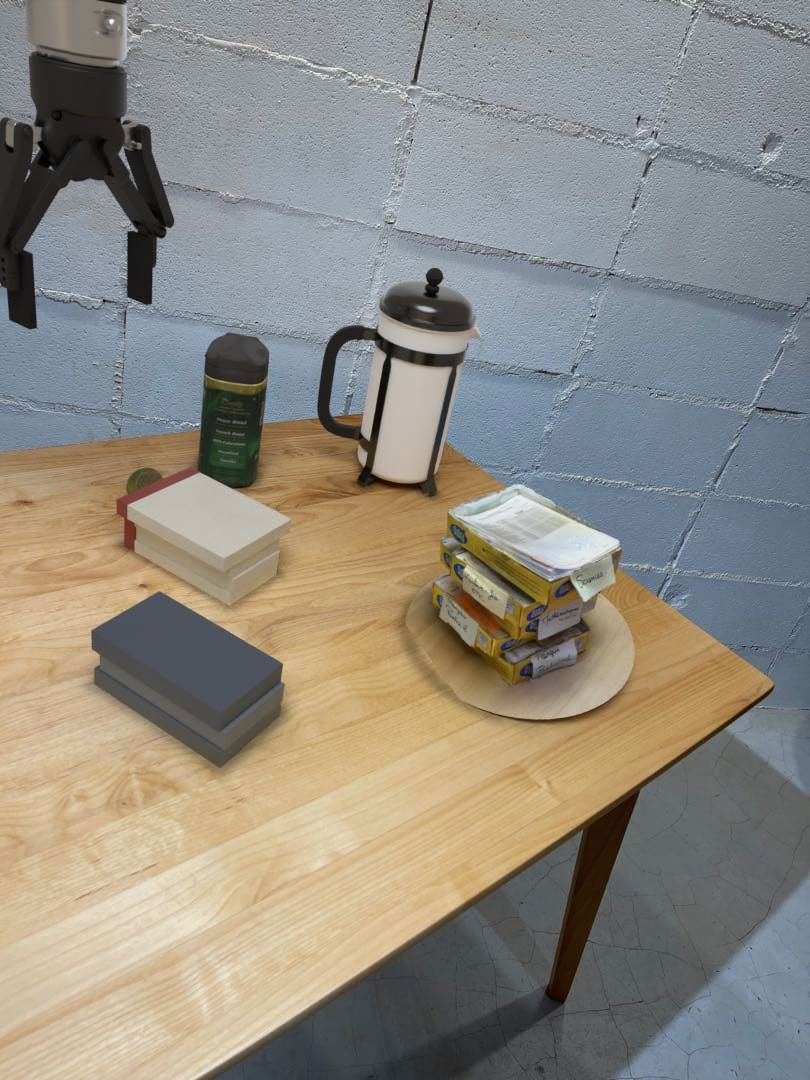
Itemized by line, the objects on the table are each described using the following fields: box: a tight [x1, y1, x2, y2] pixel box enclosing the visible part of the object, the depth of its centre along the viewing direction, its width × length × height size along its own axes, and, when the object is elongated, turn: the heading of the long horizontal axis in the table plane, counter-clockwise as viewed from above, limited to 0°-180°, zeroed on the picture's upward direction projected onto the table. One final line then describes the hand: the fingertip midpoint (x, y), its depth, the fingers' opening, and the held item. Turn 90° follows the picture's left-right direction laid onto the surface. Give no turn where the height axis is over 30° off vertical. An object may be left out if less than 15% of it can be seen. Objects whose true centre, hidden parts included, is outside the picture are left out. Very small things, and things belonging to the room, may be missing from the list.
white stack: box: [123, 517, 281, 606], centre depth 91 cm, size 16×8×5 cm, turn 59°
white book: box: [116, 466, 292, 572], centre depth 89 cm, size 15×11×2 cm
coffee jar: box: [197, 332, 270, 488], centre depth 106 cm, size 10×8×19 cm
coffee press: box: [316, 267, 483, 497], centre depth 110 cm, size 17×16×30 cm
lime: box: [125, 467, 164, 495], centre depth 99 cm, size 4×5×5 cm
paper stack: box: [405, 483, 636, 720], centre depth 86 cm, size 25×25×17 cm
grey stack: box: [90, 590, 286, 769], centre depth 73 cm, size 15×8×7 cm, turn 59°
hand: (85, 312), depth 78 cm, fingers open, 13 cm apart
